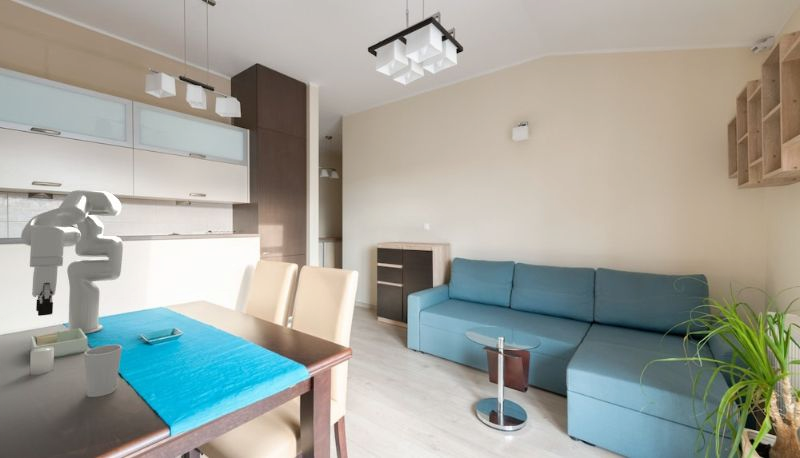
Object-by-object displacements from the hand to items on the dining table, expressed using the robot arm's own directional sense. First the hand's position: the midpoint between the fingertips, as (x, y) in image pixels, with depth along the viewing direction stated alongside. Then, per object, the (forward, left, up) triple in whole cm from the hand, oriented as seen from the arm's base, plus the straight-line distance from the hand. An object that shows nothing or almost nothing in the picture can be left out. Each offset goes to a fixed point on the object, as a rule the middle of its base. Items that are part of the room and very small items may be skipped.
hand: (44, 312), depth 108 cm
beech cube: (-16, -3, -17) cm, 24 cm away
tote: (-14, 0, -18) cm, 23 cm away
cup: (+33, +21, -18) cm, 43 cm away
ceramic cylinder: (+7, +2, -18) cm, 19 cm away
